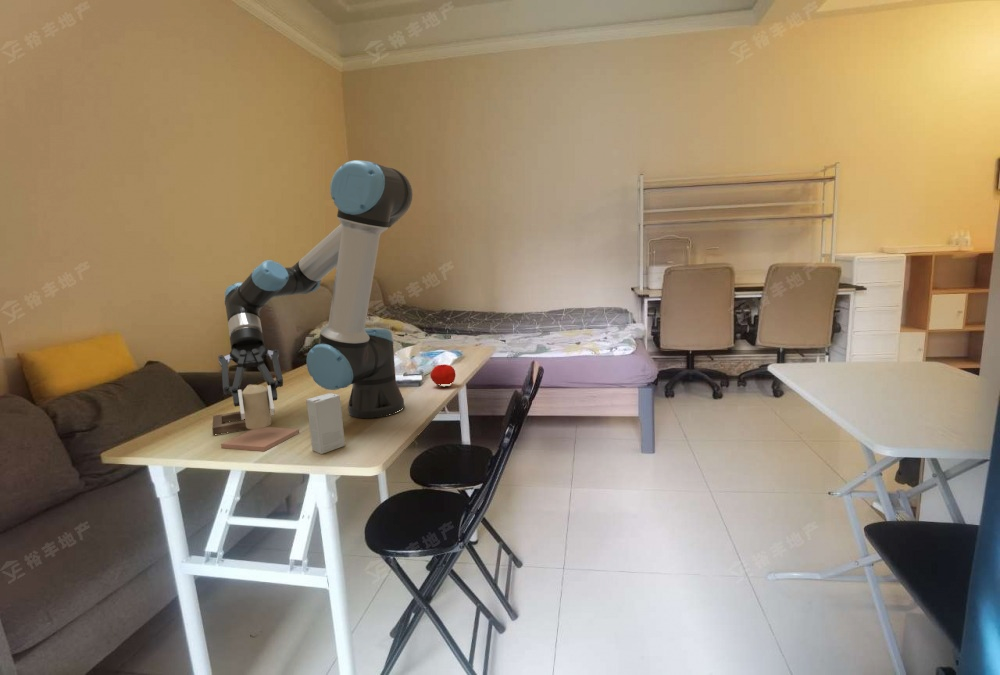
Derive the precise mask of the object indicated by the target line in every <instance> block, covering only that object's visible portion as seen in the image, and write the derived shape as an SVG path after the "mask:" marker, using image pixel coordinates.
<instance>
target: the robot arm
mask: <svg viewBox="0 0 1000 675" xmlns="http://www.w3.org/2000/svg"><path fill="white" fill-rule="evenodd" d="M329 192H330V196H331V200H333V203H334V205H335V207H336V208H337V215H336V219H337V220H338V222H339V223H340V224H339V225H338V226H337V227H335V228H334V229H333V230H332V231H331V232H330V233H329V234H328V235H327V236H325V237H324V238H323V239H321V241H319V243H317V244H316V245H315V246H314V247H313V248H312V249H311V250H310V251H308V252H307V253H306V254H305V255H304V256H303V257H301V259H300V260H298V261H296V262H295V263H294V264H293V265H292V266H290V267H289V266H288V267H284V265H282V264H281V263H279V262H275V261H274V260H271V259H269V260H264V261H262V262H261V263H260V264H259V265H258V266H257V267H255V268H253V269H254V270H252V272H251V273H250V274H249V275H248V276H247V278H246V279H245V280H244V281H243V282H242V281H241V282H236V283H234V284H231V285H229V286H227V287H226V289H225V291H224V306H225V310H226V316H227V317H226V318H227V325H228V326H227V327H228V333H229V340H230V348H231V350H230V352H229V354H227V355H223V354H221V355H218V356H217V357H218V358H217V359H218V364H219V366H220V367H221V374H222V375H221V377H222V378H221V380H222V390H223V394H224V395H225V396H226V395H227V396H228V395H231V396H232V400H233V406H234V407H239V410H240V412H241V420H240V421H244V419H245V413H244V406H243V398H242V392H243V390H242V389H240V388H241V384H242V381H243V375H244V373H245V369H248V368H257V370H258V371H259V372H260V374H261V375H262V378H263V379H264V381H265V382H266V384H267V385H266V388H267V389H268V398H269V406H270V414H271V415H272V416H273V415H276V414H275V404H274V401H277V400H278V391H277V389H278V388H281V387H283V385H284V377H283V374H282V369H281V366H280V361H279V357H280V350H279V349H277V348H275V349H273V350H269V349H268V348H267V347H266V346H265V345H266V344H265V338H264V334H263V329H262V323H261V317H260V316H261V315H260V311H261V309H262V308H263V307H265V306H266V304H268V303H269V302H270V301H271V299H273V298H279V297H284V296H295V295H307V294H310V293H314V292H316V291H317V290H318V289H319V287H320V286H321V284H322V283H321V282H322V279H323V278H325V277H326V276H327V275H328V274H329V273H330V272H332V271H333V270H334V269H335V276H334V283H333V290H332V298H331V304H330V311H329V316H328V317H329V318H328V323H327V325H325V326H324V327H323V328H321V330H320V333H319V339H318V344H315V345H314V346H313V347H312V348H310V350H309V351H308V352H307V355H306V368H307V372H308V374H309V375H310V377H312V380H313V381H314V382H315V384H317V385H318V386H320V387H321V388H323V389H325V390H329V391H336V390H340V389H344V388H347V387H349V386H350V385H352V387H351V388H352V389H351V392H350V396H349V400H348V405H347V410H348V415H349V416H351V417H354V418H359V419H375V418H374V417H377V418H382V417H381V416H384V417H387V416H386V415H389V414H392V415H394V414H393V413H395V412H397V411H399V410H401V409H402V408H403V407H404V408H405V400H404V398H403V394H402V392H401V390H400V388H399V385H398V382H397V379H396V377H397V376H396V366H395V363H396V362H395V352H394V340H393V334H392V332H391V330H390V329H389V328H366V324H367V319H368V318H367V317H368V311H369V305H370V299H371V293H372V288H373V282H374V275H375V270H376V262H377V258H378V252H379V251H378V250H379V245H380V238H381V234H382V233H384V232H385V231H387V230H388V229H389V228H391V227H392V226H393V225H394V224H395V223H397V222H398V221H399V220H400V219H401V218H402V217H403V216H404V215H405V214H406V213H407V212H408V211H409V209H410V207H411V206H412V201H413V194H414V193H413V189H412V185H411V182H410V181H409V179H408V177H406V175H405V174H404V173H402V172H401V171H399V170H398V169H395V168H392V167H387V166H384V165H381V164H378V163H375V162H372V161H367V160H360V159H359V160H358V159H355V160H350V161H347V162H345V163H344V164H342V165H340V167H338V168H337V170H336V171H335V172H334V174H333V176H332V178H331V181H330V191H329ZM267 357H269V360H271V361H272V366H273V371H274V376H275V379H274V378H273V376H272V374H271V372H270V371H269V369H268V367H267V366H266V364H265V361H264V360H265V359H266V358H267ZM231 361H232V362H234V363H235V364H236V365H237V367H236V371H235V374H234V377H233V382H232V386H230V381H229V380H230V378H229V377H230V376H229V367H228V366H229V365H230V363H231ZM395 414H396V413H395ZM389 416H390V415H389Z"/></svg>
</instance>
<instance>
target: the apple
mask: <svg viewBox="0 0 1000 675" xmlns="http://www.w3.org/2000/svg"><path fill="white" fill-rule="evenodd" d="M430 379H431V381H432V382H433V383H434V384H435V385H436V384H440V385H441V384H450V383H452V382H453V383H454V381H455V379H456V370H455V369H454V367H453V366H452V365H450V364H444V363H443V364H438V365H436V366H434V367H433V369H432V370H431V371H430ZM453 383H452V384H453Z"/></svg>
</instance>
